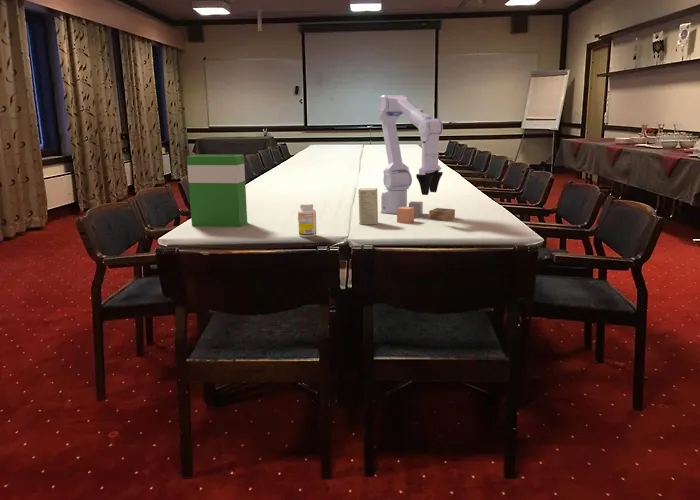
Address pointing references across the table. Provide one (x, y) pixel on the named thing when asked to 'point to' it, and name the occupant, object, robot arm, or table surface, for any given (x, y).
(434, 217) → the walnut slab
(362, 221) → the skincare box
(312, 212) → the supplement bottle
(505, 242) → the table surface
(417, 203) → the grey block
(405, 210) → the rust block
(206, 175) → the cereal box
